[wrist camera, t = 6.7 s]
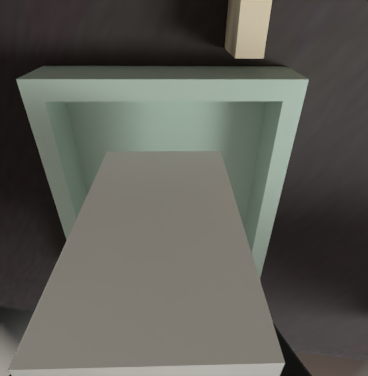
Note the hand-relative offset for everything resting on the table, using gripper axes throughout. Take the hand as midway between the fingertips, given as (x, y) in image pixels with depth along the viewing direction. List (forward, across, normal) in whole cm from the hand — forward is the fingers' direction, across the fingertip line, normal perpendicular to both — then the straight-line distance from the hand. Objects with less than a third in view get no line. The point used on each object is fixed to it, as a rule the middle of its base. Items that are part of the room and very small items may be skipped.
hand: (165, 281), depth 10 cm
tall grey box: (+2, 0, 0) cm, 2 cm away
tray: (+6, 0, 0) cm, 6 cm away
